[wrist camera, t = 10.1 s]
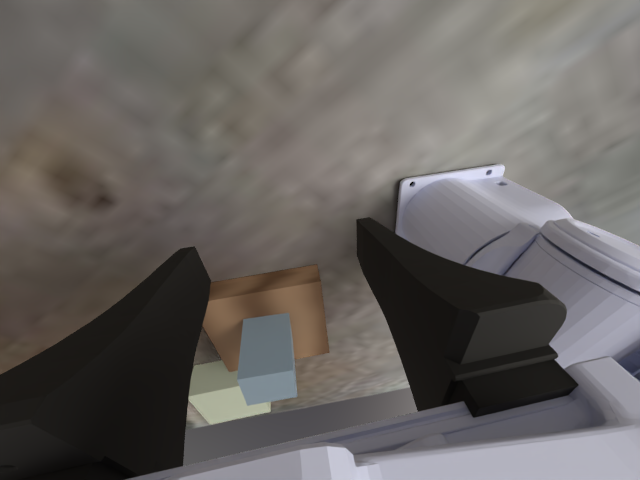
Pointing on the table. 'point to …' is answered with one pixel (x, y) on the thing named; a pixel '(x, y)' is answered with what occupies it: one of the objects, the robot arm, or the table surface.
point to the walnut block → (267, 310)
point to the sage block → (220, 394)
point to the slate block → (267, 359)
